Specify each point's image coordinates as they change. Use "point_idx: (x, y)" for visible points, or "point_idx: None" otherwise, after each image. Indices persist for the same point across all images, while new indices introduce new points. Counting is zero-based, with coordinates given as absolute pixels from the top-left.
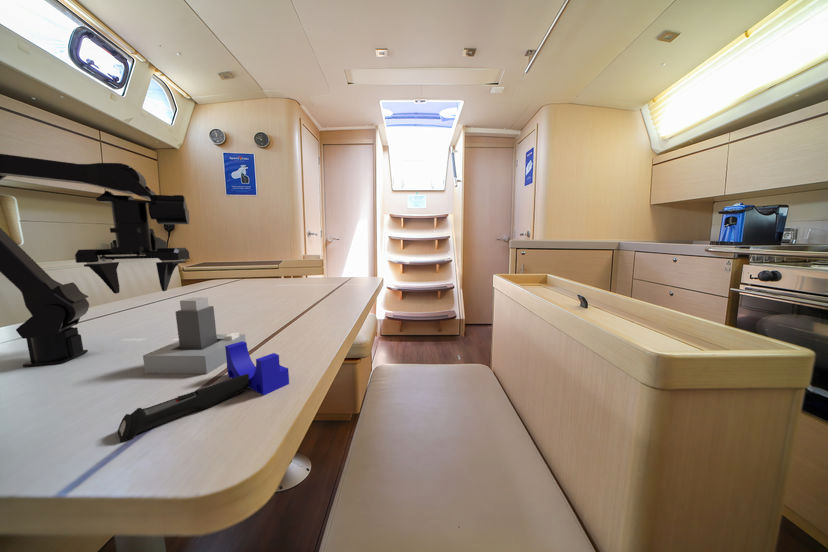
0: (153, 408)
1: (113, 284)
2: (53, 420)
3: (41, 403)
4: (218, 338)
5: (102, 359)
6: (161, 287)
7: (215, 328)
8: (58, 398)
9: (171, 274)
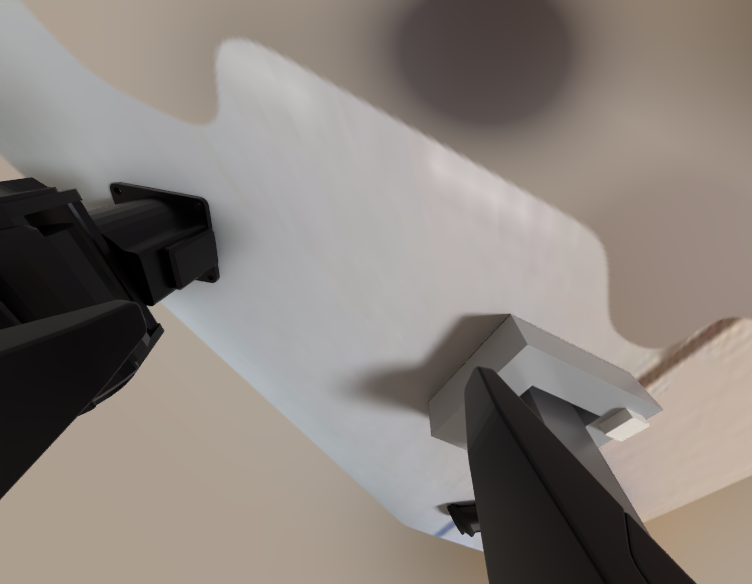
0: (479, 527)
1: (68, 400)
2: (373, 468)
3: (330, 431)
4: (586, 408)
5: (297, 287)
6: (469, 429)
7: (599, 453)
8: (341, 427)
9: (657, 563)
